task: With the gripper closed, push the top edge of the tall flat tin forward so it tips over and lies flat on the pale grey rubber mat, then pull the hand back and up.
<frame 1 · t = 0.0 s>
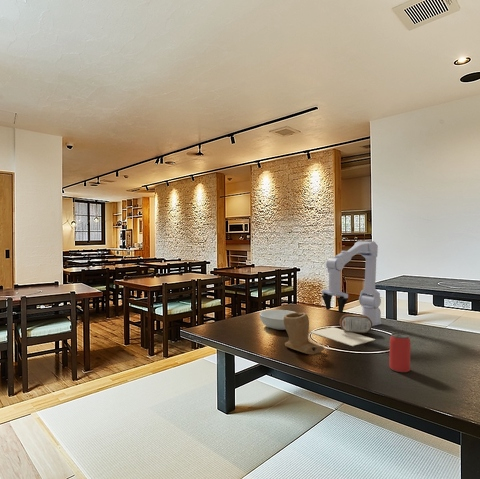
hand: (334, 310, 164), 10 cm above the table, tool pointing down, fingers open, 7 cm apart
serving bowl: (280, 327, 171), on the table
beer can: (399, 370, 118), on the table
tin: (355, 332, 163), on the table, touching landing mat
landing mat: (341, 336, 157), on the table
tan boot-shaped piece: (300, 351, 137), on the table
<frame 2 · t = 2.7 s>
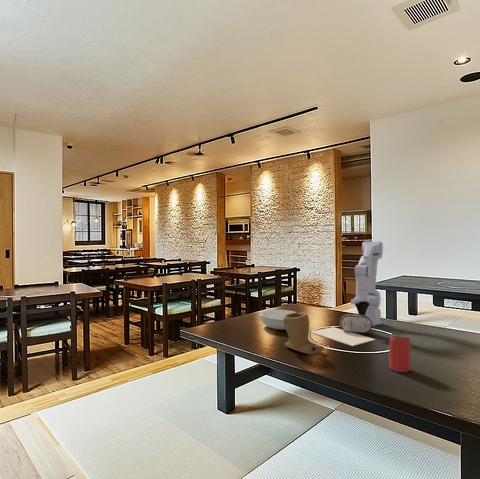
hand: (361, 317, 165), 7 cm above the table, tool pointing down, fingers closed
tin: (355, 332, 163), on the table, touching gripper, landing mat
everything else where it was.
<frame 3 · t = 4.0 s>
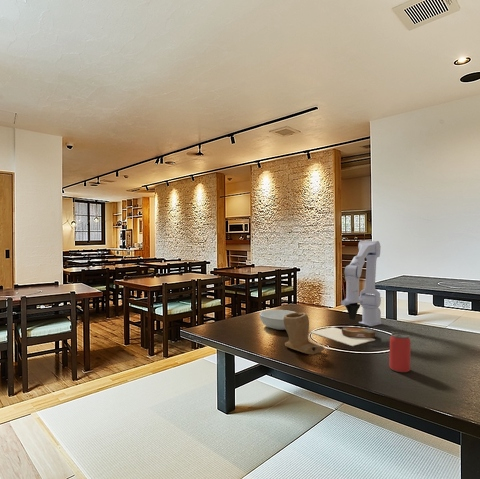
hand: (352, 319, 161), 7 cm above the table, tool pointing down, fingers closed
tin: (355, 330, 162), point 1 cm above the table, touching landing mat
everything else where it was.
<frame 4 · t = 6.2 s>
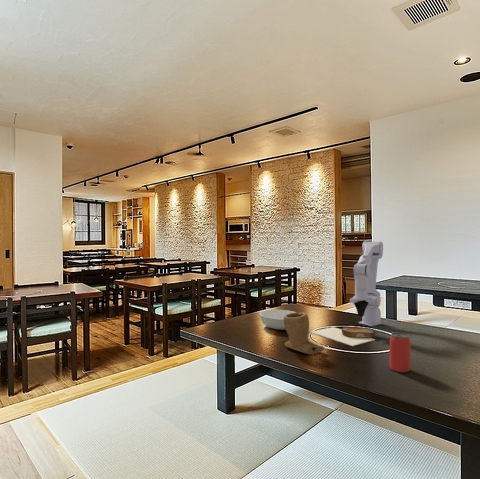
hand: (360, 316, 165), 7 cm above the table, tool pointing down, fingers closed
nothing on the table moved.
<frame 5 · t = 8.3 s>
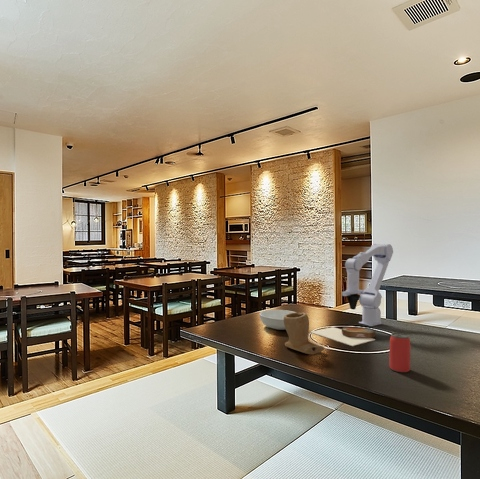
hand: (352, 309, 172), 9 cm above the table, tool pointing down, fingers closed
nothing on the table moved.
at the end: tin tilted 86°; tin touching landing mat; the gripper is holding nothing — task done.
